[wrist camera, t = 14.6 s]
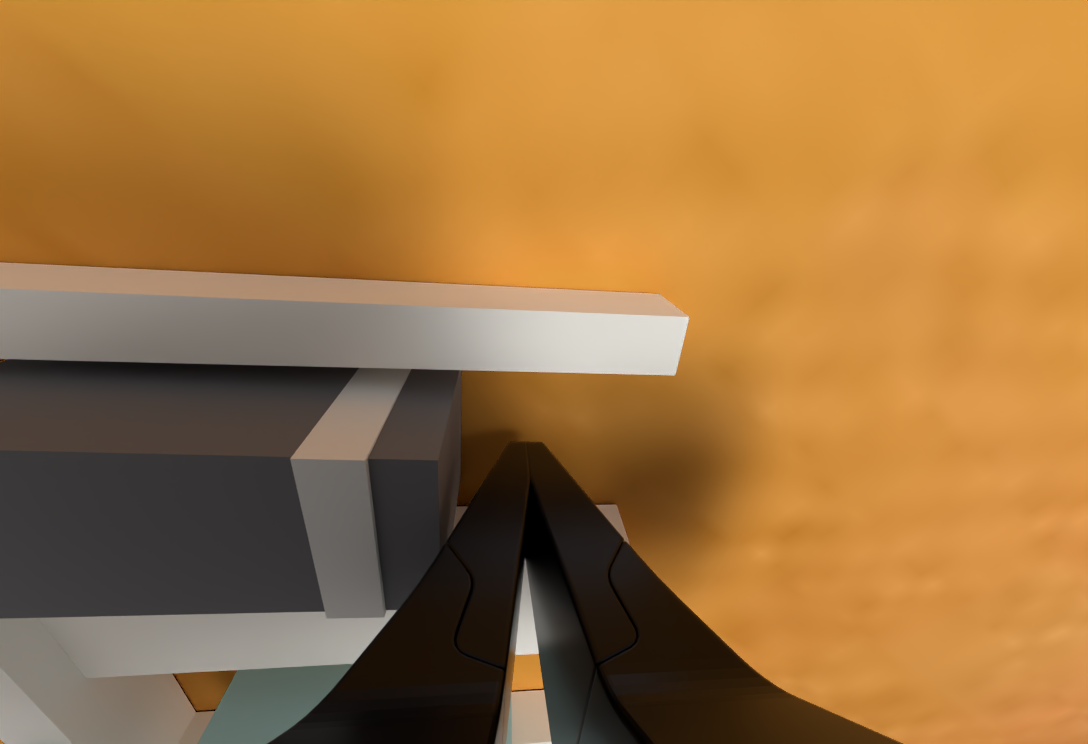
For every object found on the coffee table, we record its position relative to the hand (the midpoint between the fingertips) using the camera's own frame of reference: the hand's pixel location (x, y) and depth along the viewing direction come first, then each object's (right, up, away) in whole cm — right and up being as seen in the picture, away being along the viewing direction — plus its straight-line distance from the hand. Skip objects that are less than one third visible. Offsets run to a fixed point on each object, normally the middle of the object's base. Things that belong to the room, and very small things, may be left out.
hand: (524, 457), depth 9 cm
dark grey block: (-6, +1, 0) cm, 6 cm away
